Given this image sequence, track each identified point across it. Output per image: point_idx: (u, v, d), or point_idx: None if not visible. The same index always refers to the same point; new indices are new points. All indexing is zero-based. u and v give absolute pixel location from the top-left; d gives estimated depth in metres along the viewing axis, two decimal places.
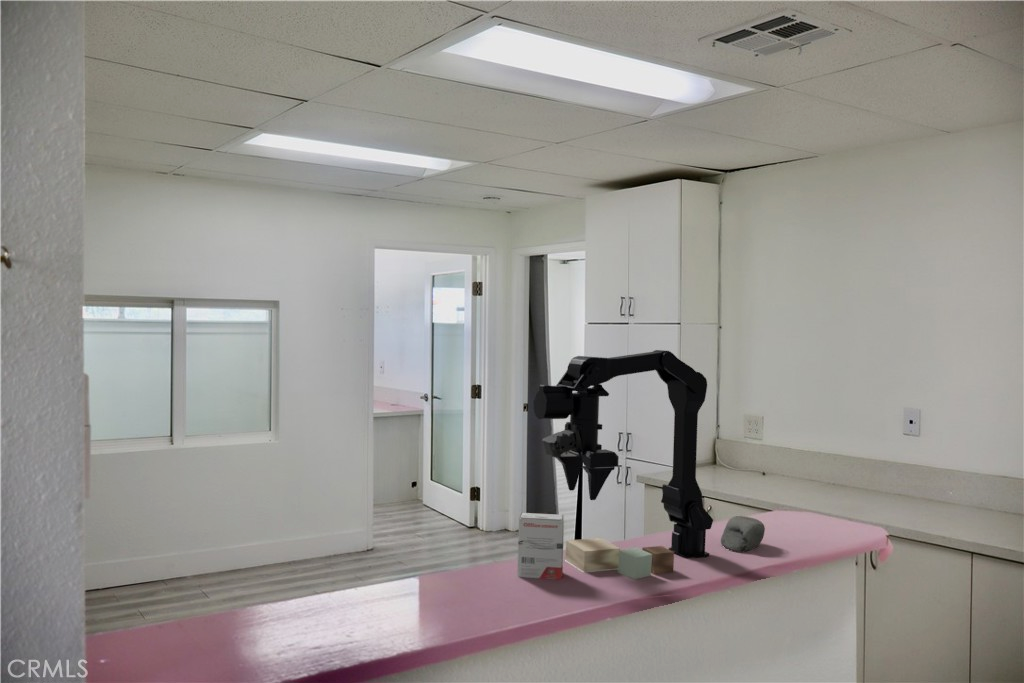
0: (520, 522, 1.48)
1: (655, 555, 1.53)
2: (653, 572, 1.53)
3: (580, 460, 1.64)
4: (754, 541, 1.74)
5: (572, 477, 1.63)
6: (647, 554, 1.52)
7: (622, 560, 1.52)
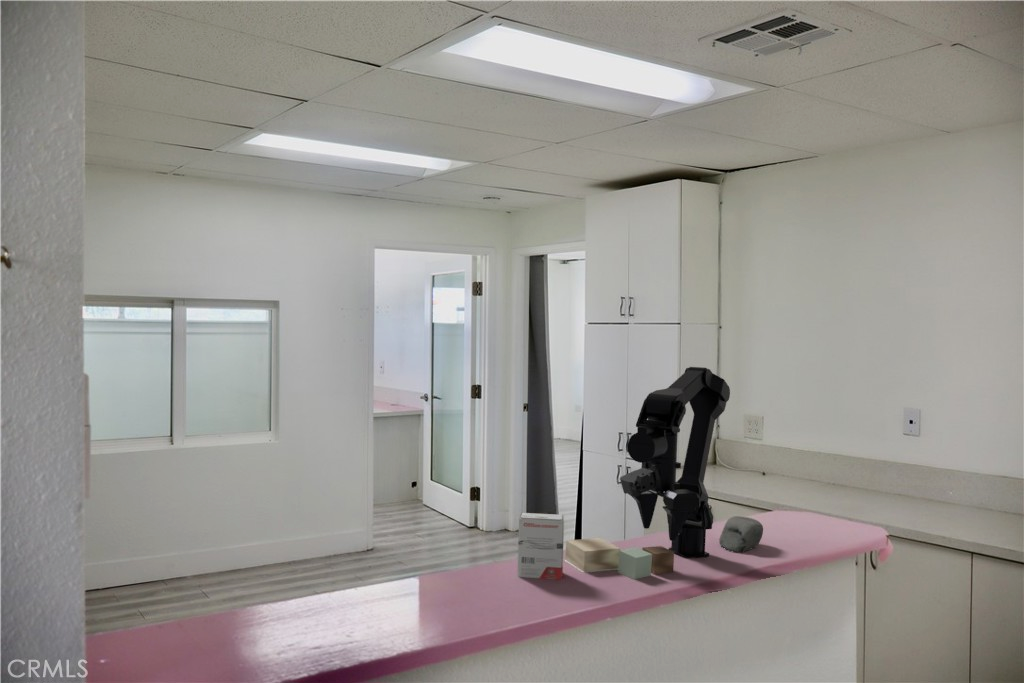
0: (520, 522, 1.48)
1: (655, 555, 1.53)
2: (653, 572, 1.53)
3: (654, 498, 1.61)
4: (752, 541, 1.74)
5: (647, 515, 1.60)
6: (647, 554, 1.52)
7: (622, 560, 1.52)
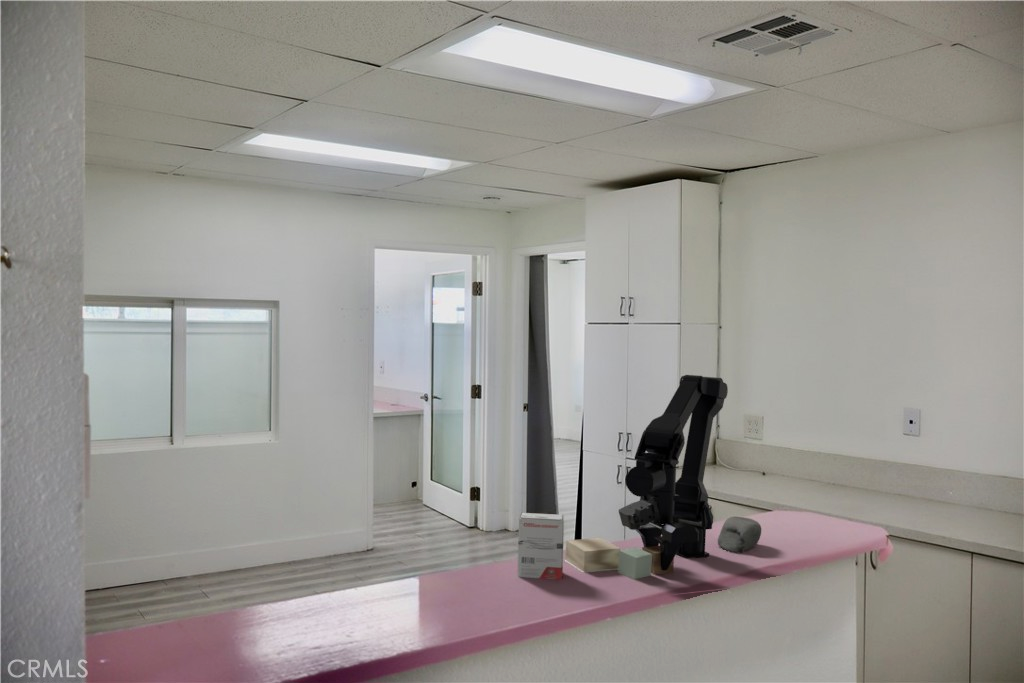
0: (520, 522, 1.48)
1: (655, 554, 1.53)
2: (653, 571, 1.53)
3: (659, 532, 1.59)
4: (751, 542, 1.74)
5: None
6: (647, 554, 1.52)
7: (622, 560, 1.52)
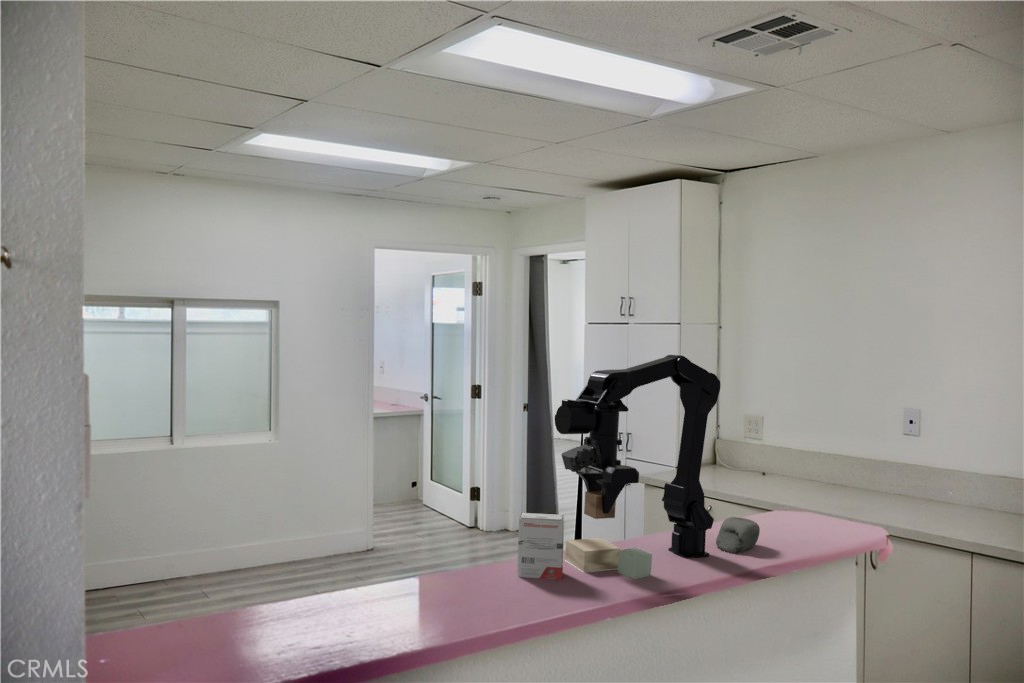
0: (520, 522, 1.48)
1: (597, 497, 1.54)
2: (595, 514, 1.55)
3: (602, 478, 1.61)
4: (749, 542, 1.73)
5: None
6: (647, 554, 1.52)
7: (622, 560, 1.52)
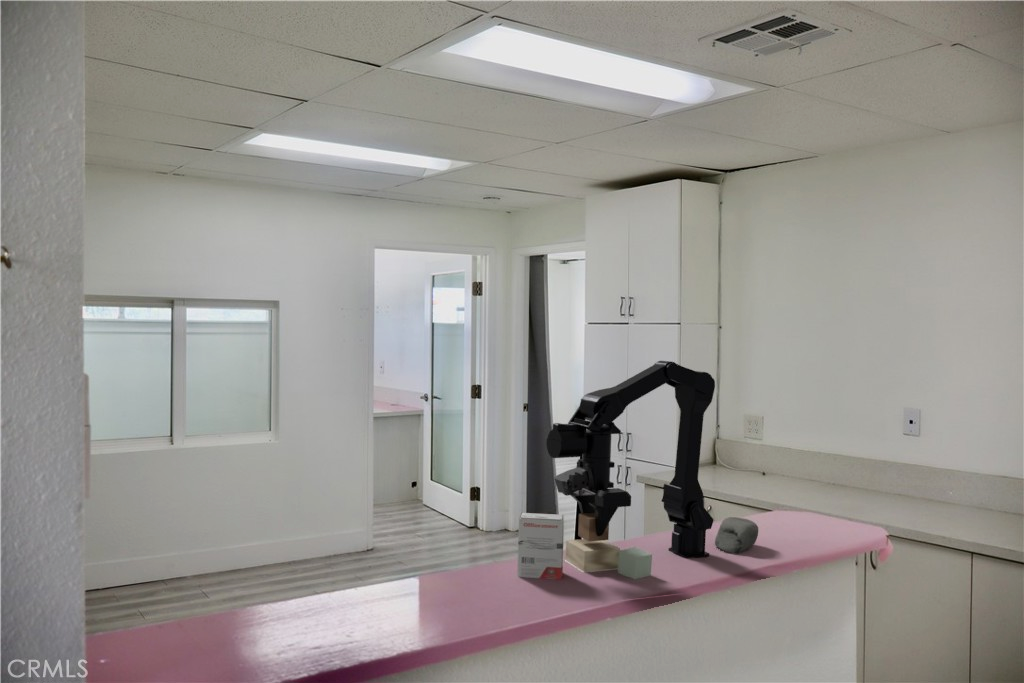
0: (520, 522, 1.48)
1: (590, 520, 1.55)
2: (588, 537, 1.55)
3: None
4: (748, 542, 1.73)
5: None
6: (647, 554, 1.52)
7: (622, 560, 1.52)
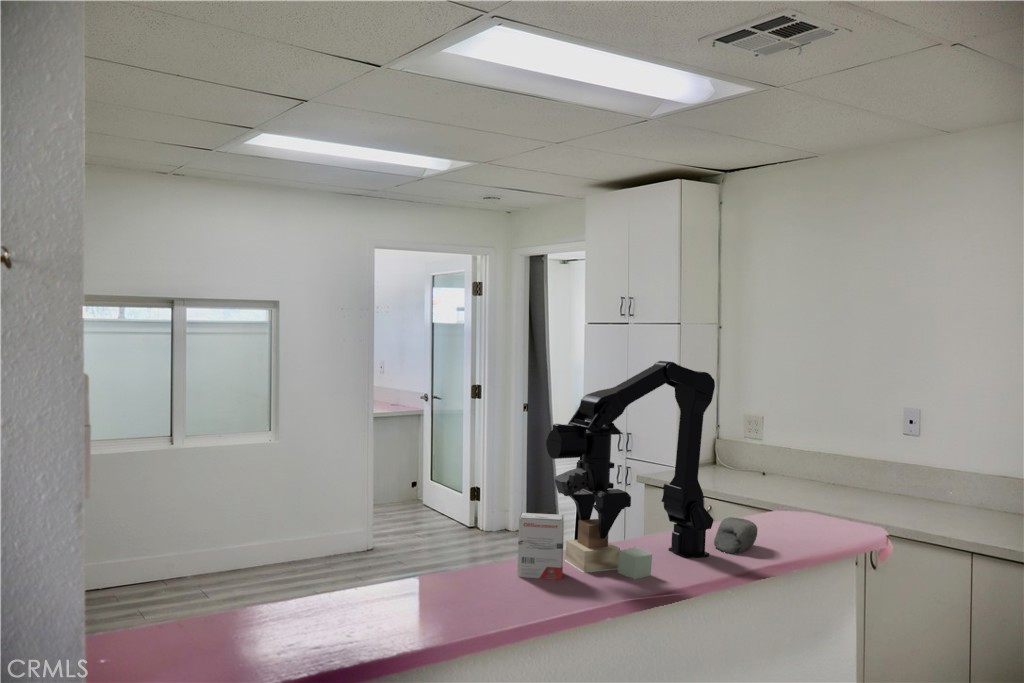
0: (520, 522, 1.48)
1: (589, 527, 1.55)
2: (587, 544, 1.55)
3: (592, 498, 1.63)
4: (747, 543, 1.73)
5: (585, 515, 1.62)
6: (647, 554, 1.52)
7: (622, 560, 1.52)
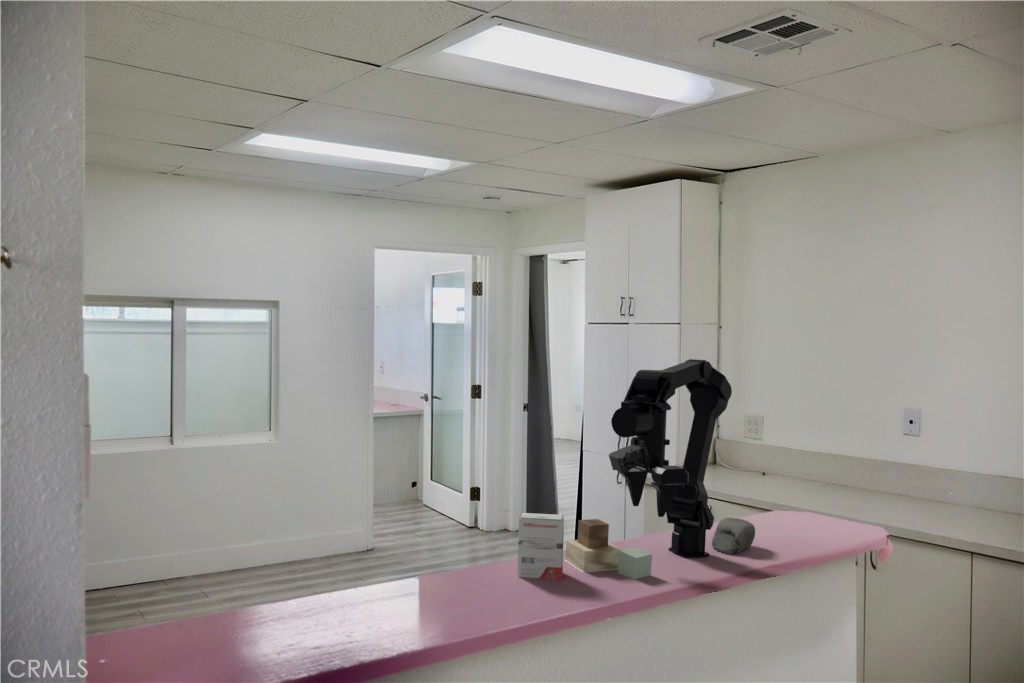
0: (520, 522, 1.48)
1: (589, 527, 1.55)
2: (587, 544, 1.55)
3: (644, 476, 1.61)
4: (745, 543, 1.72)
5: (636, 493, 1.60)
6: (647, 554, 1.52)
7: (622, 560, 1.52)
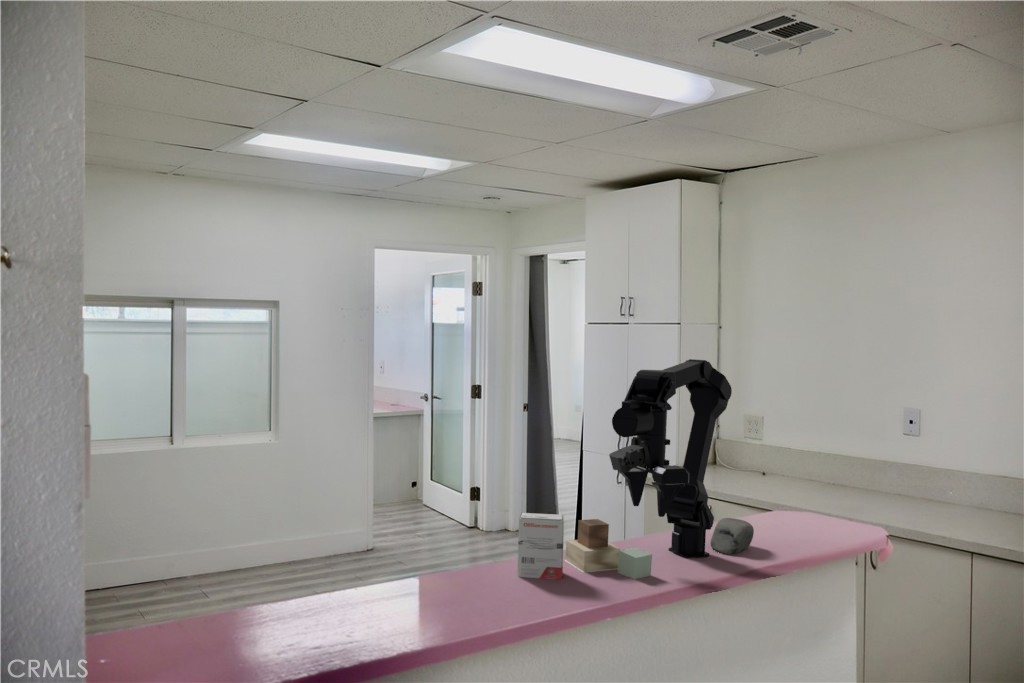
0: (520, 522, 1.48)
1: (589, 527, 1.55)
2: (587, 544, 1.55)
3: (644, 476, 1.61)
4: (744, 543, 1.72)
5: (637, 492, 1.60)
6: (647, 554, 1.52)
7: (622, 560, 1.52)
